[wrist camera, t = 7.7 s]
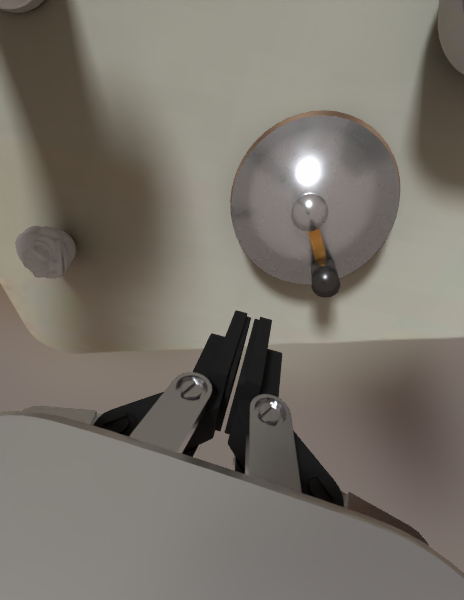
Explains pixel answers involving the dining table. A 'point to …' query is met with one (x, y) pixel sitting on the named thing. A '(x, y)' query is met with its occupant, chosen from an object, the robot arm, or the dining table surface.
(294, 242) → the handwheel
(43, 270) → the grey lumpy ball
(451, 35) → the teacup
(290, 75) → the dining table surface
